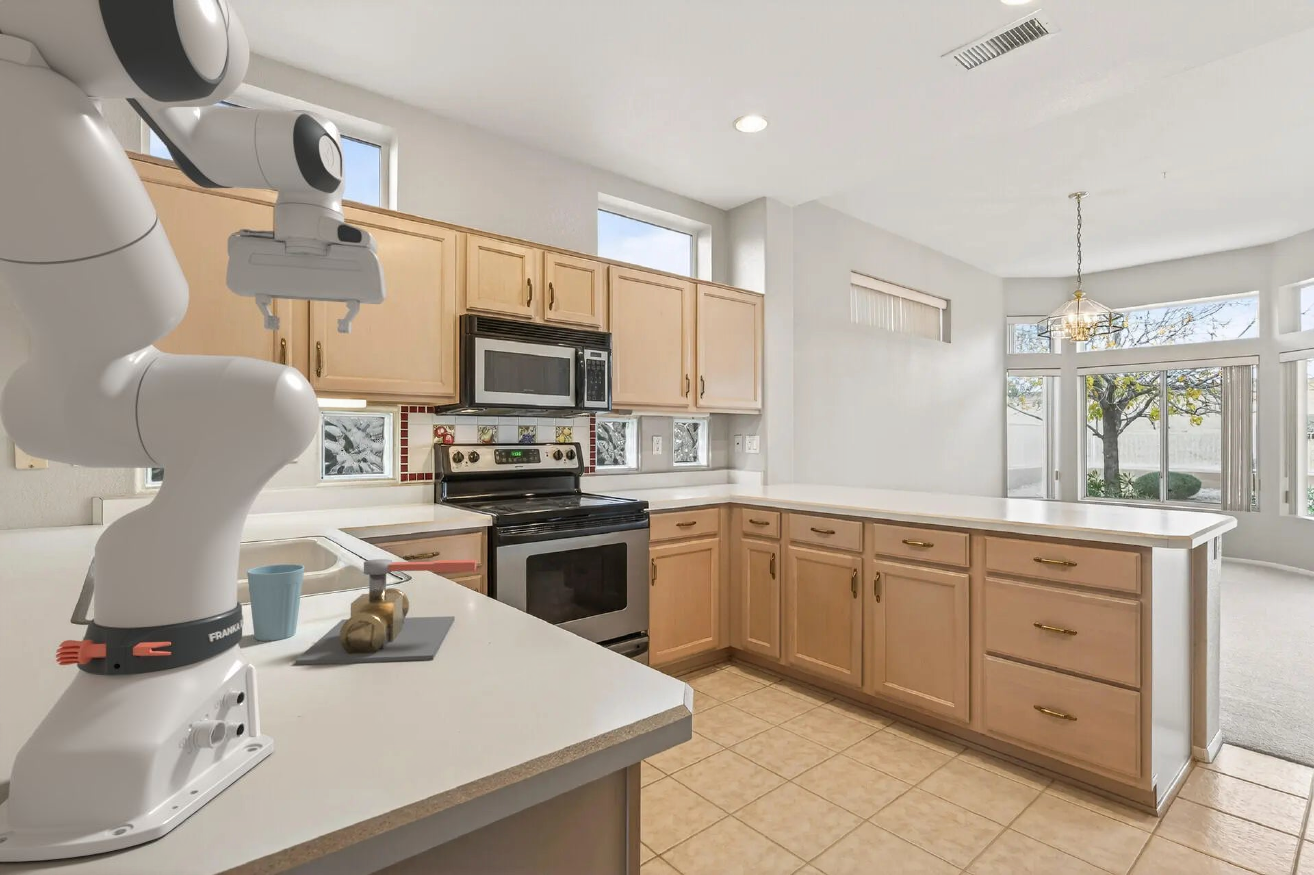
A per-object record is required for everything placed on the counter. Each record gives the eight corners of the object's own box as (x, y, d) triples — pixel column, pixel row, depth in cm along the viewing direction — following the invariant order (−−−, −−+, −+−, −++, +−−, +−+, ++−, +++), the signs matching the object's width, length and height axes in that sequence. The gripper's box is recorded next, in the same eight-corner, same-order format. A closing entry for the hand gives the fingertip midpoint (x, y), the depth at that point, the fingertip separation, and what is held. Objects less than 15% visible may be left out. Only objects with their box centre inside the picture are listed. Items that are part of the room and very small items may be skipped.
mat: (432, 659, 92) (433, 655, 92) (295, 664, 89) (295, 660, 89) (454, 619, 111) (454, 616, 111) (342, 623, 109) (342, 619, 109)
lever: (360, 575, 98) (360, 564, 98) (367, 569, 102) (367, 559, 102) (473, 573, 100) (474, 562, 100) (477, 567, 104) (477, 557, 104)
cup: (306, 638, 100) (307, 570, 100) (247, 646, 96) (248, 576, 96) (300, 626, 107) (301, 562, 107) (245, 633, 102) (246, 567, 102)
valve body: (384, 656, 93) (385, 585, 93) (339, 658, 92) (340, 586, 92) (409, 624, 108) (409, 563, 108) (370, 625, 107) (371, 564, 107)
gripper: (218, 220, 88) (217, 323, 88) (381, 234, 93) (380, 331, 93) (236, 234, 94) (235, 330, 94) (388, 246, 99) (387, 337, 99)
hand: (308, 330), depth 93 cm, fingers open, 8 cm apart
